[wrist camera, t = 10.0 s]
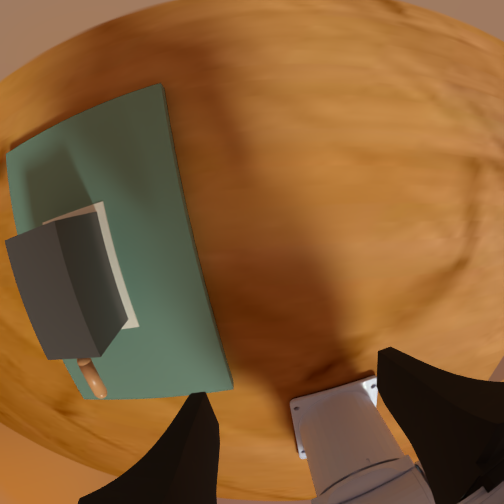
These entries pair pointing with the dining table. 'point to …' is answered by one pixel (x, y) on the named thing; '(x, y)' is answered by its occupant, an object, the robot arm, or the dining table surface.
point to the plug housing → (69, 291)
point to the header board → (129, 241)
